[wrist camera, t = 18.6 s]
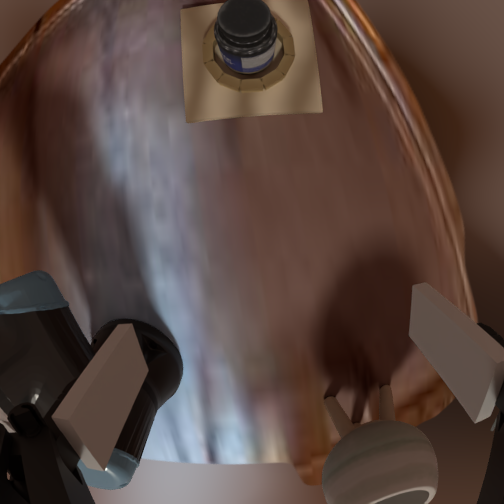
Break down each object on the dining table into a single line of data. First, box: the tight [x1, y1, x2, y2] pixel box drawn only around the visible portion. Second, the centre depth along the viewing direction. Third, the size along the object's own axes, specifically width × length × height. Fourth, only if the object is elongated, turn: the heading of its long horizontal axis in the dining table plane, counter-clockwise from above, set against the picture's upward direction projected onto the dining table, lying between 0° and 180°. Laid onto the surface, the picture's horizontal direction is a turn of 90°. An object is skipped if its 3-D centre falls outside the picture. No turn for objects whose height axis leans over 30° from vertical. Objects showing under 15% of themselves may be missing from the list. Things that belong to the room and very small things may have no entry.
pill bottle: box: [214, 0, 278, 75], centre depth 26 cm, size 6×6×11 cm
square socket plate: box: [181, 0, 323, 123], centre depth 31 cm, size 16×16×3 cm
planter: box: [322, 385, 438, 504], centre depth 36 cm, size 16×16×22 cm
